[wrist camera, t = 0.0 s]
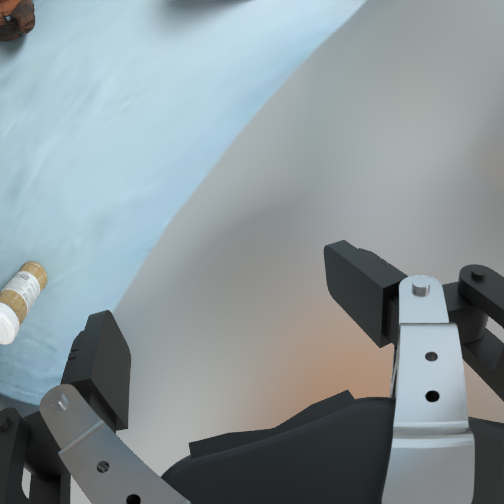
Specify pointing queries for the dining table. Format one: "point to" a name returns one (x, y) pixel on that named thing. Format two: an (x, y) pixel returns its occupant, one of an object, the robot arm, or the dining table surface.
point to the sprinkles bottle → (19, 299)
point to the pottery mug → (16, 18)
